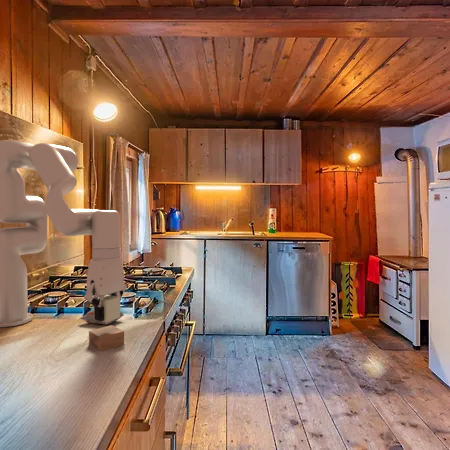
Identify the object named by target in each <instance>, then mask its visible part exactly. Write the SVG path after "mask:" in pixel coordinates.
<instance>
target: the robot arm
mask: <svg viewBox="0 0 450 450" xmlns="http://www.w3.org/2000/svg"><path fill="white" fill-rule="evenodd" d="M78 166H79V160H78V156H77V154H76V152H75V151H74V150H73V149H71V148H70V147H66V146H63V145H57V144H52V143H47V142H43V143H42V142H39V143H36V144H35V143H31V142H30V143H29V142H25V141H20V140H14V139H4V140H0V223H3V224H25V226H14V227H2V228H0V328H8V327H17V326H19V325H24V324H27V323H29V322H30V321H32V320H33V318H34V315H33V314H32V313H30V312H28V269H27V265H26V263H25V262H24V260H23V259H22V257H21V256H23V255H30V254H38V253H40V252H43V251H44V250H45V248H46V246H47V243H48V218H49V220H50V221H51V223H52V225H53V226H54V228H55V229H56V230H57V232H59V233H60V234H61V235H63V236H66V237H77V236H78V237H79V236H91V243H92V247H91V248H92V249H91V250H92V255H91V256H92V259H90V260H89V262H88V269H87V276H86V292H85V294H84V299H85V300H86V301H87V302H89V303H90V304H91V305H92V307H93V309H94V319H95V320H98V321H104V307H103V306H102V305H103V300H104V296H105V295H112V296H118V297H120V302H121V300H122V296H123V295H124V293H125V291H126V289H127V288H128V286H127V284H126V283H125V274H124V273H125V272H124V264H123V260H122V257H121V253H122V248H121V214H120V212H119V211H118V210H113V209H112V210H111V209H110V210H109V209H107V210H105V209H101V210H100V209H92V208H70V206H69V205H68V204H67V202H66V200H65V199H64V197H63V196H65V195H67V194H69V193H70V192H72V191H73V190H74V189H75V187H76V186H77V183H78V182H77V181H78V180H77V178H76V176H75V174H74V172H75V171H76V170H77V168H78ZM18 169H24V170H31V171H36V173H37V174H38V176H39V177H40V179H41V181H42V183H43V184H44V185H45V187H46V189H47V192H46V195H45V201H44V200H43V198H41V197H40V196H36V195H26V182H25V180H24V178H23V176H22V174H21V172H20V171H19V170H18ZM98 297H99V301H98Z"/></svg>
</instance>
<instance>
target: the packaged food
mask: <svg viewBox="0 0 450 450" xmlns="http://www.w3.org/2000/svg"><path fill="white" fill-rule="evenodd" d="M124 316H125V314H124V313H123V312H122V311H120V318H118V319H115V320H112V321H110V322H102V321H98V320H94V308H92V309H91V310H89V311H88V312H86V314H85V315H83V316H81V317H79V318H78V320H83V321H85V322H86V323H90V324H95V325H96V324H97V325H109V324H111V323H114V322H116V321H118V320H120V319H121V318H122V317H124Z"/></svg>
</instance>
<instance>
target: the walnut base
mask: <svg viewBox="0 0 450 450" xmlns="http://www.w3.org/2000/svg"><path fill="white" fill-rule="evenodd" d="M124 344H125V331H124V330H122V329H121V328H118V327H116V326H114V325H112V324H111V325H108V326H106V325H105V326H103V327H99V328H96V329H92V330H89V331H88V345H90V346H92V347H93V348H94V349H96V350H98V351H99V352H103V351H106V350H110V349H113V348H116V347H118V346H122V345H124Z"/></svg>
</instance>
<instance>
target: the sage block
mask: <svg viewBox="0 0 450 450" xmlns="http://www.w3.org/2000/svg"><path fill="white" fill-rule="evenodd" d="M98 301H99V297H98ZM102 306H103V307H104V321H102V322H110V321H112V320H115V319H118V318H120V312H121V301H120V297H118V296H112V295H110V294H109V295H105V296H104V300H103V305H102ZM120 319H121V318H120ZM94 320H95V319H94ZM118 320H119V319H118Z"/></svg>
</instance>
